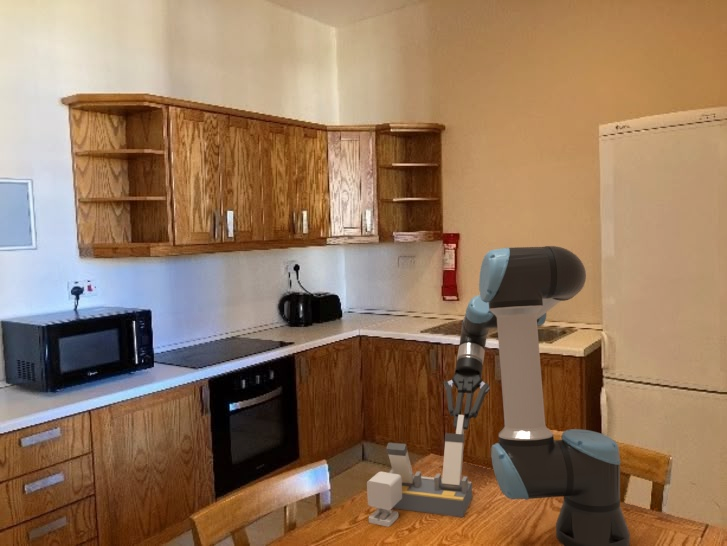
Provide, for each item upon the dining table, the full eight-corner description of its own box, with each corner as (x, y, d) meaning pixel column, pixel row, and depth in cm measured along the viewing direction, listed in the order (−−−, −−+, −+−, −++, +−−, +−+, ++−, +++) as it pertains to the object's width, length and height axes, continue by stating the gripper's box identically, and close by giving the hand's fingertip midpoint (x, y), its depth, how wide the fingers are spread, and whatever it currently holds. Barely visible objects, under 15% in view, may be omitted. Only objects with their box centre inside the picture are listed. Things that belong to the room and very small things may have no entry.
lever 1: (416, 480, 160) (407, 444, 153) (414, 486, 159) (405, 450, 152) (396, 478, 162) (387, 442, 155) (394, 484, 160) (384, 448, 154)
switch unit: (472, 497, 160) (471, 470, 159) (463, 517, 149) (462, 488, 149) (397, 488, 167) (396, 462, 166) (384, 507, 157) (382, 479, 156)
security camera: (403, 514, 152) (401, 474, 152) (390, 527, 146) (388, 486, 145) (379, 509, 155) (378, 470, 155) (366, 522, 149) (364, 481, 148)
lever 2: (462, 490, 155) (465, 435, 160) (460, 489, 154) (464, 434, 158) (441, 487, 157) (445, 434, 162) (439, 487, 155) (444, 432, 160)
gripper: (494, 370, 179) (485, 448, 165) (449, 368, 183) (437, 443, 169) (490, 356, 173) (481, 435, 159) (444, 354, 178) (431, 431, 164)
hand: (458, 439), depth 164 cm, fingers closed
